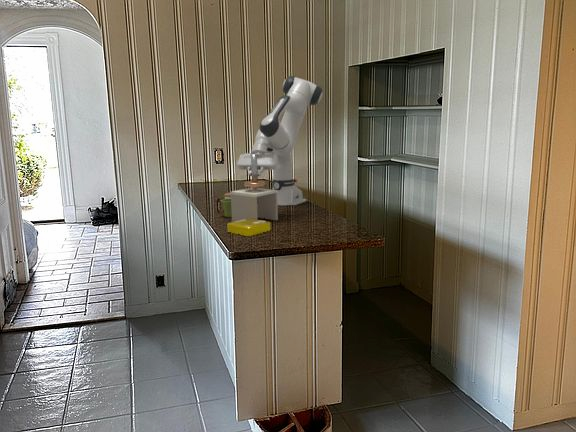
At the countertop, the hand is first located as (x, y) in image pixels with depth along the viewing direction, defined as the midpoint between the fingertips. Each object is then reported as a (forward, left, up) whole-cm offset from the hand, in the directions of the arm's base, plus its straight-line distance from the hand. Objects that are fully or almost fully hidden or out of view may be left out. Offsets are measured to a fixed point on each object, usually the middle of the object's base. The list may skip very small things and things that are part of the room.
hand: (254, 175), depth 252 cm
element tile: (+17, +11, -23) cm, 31 cm away
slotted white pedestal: (0, -1, -23) cm, 23 cm away
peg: (0, 0, -16) cm, 16 cm away
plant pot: (-1, -19, -23) cm, 30 cm away
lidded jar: (-20, -35, -23) cm, 46 cm away
